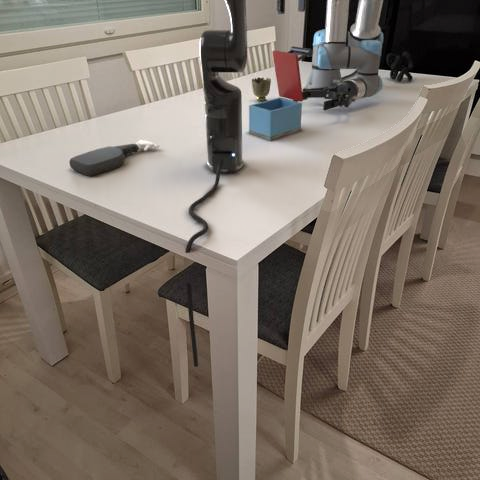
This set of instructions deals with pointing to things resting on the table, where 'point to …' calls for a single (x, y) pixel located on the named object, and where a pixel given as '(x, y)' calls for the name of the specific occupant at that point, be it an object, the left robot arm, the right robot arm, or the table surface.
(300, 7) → the left robot arm
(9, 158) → the table surface
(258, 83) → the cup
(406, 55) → the squiggle
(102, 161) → the wireless presentation dongle
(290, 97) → the lid
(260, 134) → the chest
